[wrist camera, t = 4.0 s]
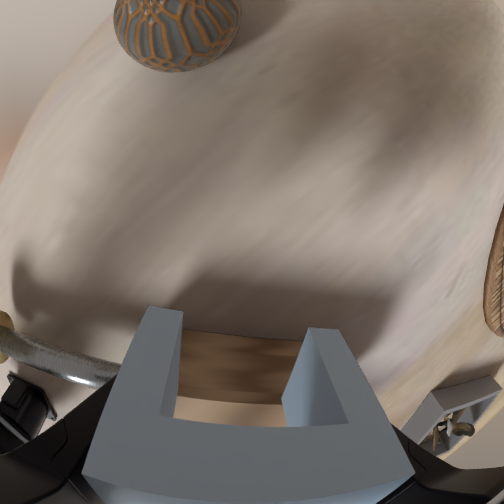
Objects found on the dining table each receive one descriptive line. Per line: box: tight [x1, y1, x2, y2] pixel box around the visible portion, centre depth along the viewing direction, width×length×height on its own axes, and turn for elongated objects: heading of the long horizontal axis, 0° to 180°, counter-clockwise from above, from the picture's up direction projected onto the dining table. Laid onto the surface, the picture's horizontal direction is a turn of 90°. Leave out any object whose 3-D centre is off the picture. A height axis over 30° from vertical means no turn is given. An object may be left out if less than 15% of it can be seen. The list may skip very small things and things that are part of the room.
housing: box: [173, 329, 303, 427], centre depth 19 cm, size 16×6×7 cm, turn 80°
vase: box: [113, 0, 242, 72], centre depth 10 cm, size 7×7×9 cm
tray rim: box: [401, 375, 502, 457], centre depth 29 cm, size 17×17×4 cm
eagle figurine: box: [433, 407, 475, 451], centre depth 28 cm, size 8×7×9 cm
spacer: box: [82, 305, 415, 504], centre depth 7 cm, size 4×7×6 cm, turn 79°
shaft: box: [0, 310, 122, 390], centre depth 17 cm, size 20×5×5 cm, turn 80°
